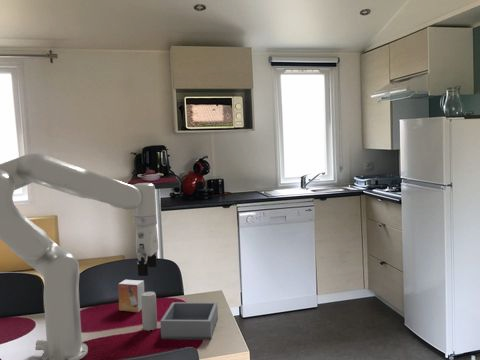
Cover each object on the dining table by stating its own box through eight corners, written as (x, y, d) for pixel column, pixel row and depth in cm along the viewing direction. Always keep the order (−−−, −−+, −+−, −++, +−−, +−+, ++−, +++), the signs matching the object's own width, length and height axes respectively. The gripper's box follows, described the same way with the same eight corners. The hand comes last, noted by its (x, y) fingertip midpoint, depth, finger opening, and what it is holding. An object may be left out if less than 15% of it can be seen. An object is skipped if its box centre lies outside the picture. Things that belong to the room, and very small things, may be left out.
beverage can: (153, 331, 140) (152, 296, 139) (140, 331, 141) (138, 295, 140) (159, 325, 145) (158, 291, 144) (146, 324, 146) (144, 290, 145)
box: (161, 339, 135) (160, 320, 134) (173, 318, 151) (172, 302, 150) (211, 339, 133) (210, 321, 133) (217, 318, 149) (217, 302, 149)
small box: (119, 311, 159) (117, 283, 158) (126, 305, 165) (125, 279, 164) (138, 312, 157) (137, 284, 156) (145, 306, 163) (144, 280, 162)
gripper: (148, 225, 131) (151, 279, 133) (163, 215, 148) (165, 263, 150) (124, 225, 132) (128, 279, 133) (142, 216, 149) (144, 263, 151)
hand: (147, 271), depth 142 cm, fingers open, 9 cm apart
